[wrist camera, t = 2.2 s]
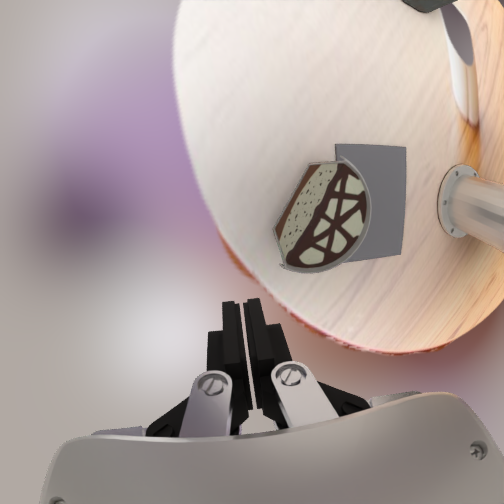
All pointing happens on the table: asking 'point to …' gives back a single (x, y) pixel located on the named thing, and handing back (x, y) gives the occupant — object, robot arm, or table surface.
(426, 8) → the bottle
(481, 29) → the table surface
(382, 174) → the mat
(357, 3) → the table surface
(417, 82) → the table surface
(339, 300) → the table surface
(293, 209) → the food container
